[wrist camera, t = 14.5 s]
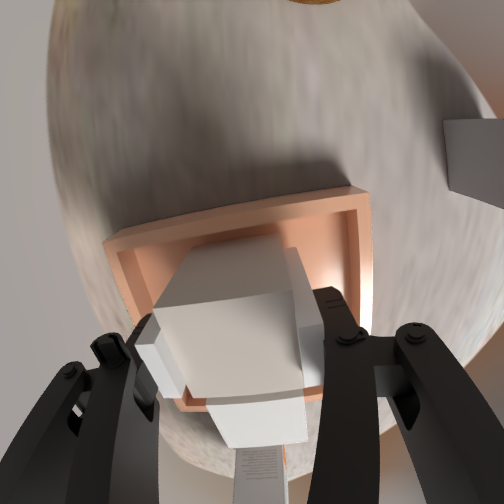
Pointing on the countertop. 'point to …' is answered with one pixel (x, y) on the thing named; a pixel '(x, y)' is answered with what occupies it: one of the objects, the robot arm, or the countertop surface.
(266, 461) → the skincare box
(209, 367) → the beige rectangular block
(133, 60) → the countertop surface
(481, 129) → the grey rectangular block
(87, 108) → the countertop surface
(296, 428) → the white block
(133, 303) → the dish
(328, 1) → the disposable coffee cup
